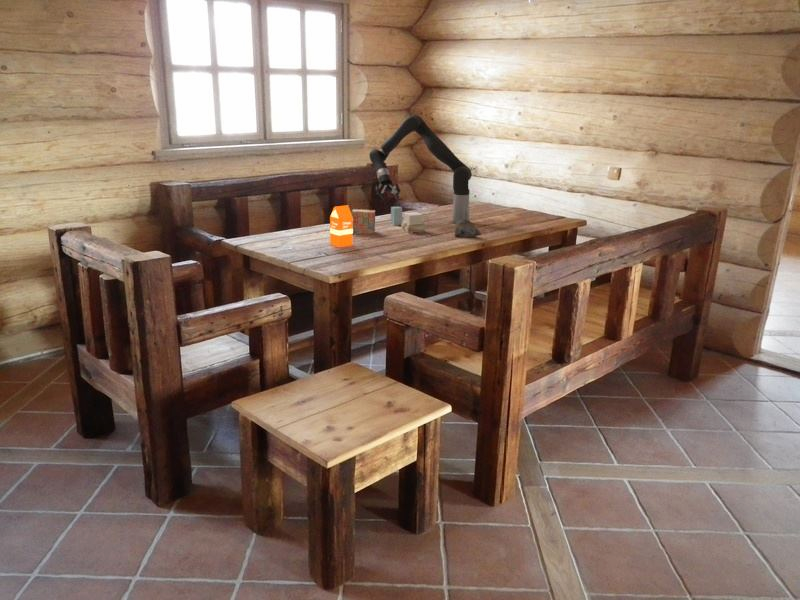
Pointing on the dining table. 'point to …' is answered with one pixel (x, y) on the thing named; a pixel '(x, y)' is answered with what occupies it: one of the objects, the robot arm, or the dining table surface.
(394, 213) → the pillar block
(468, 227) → the mineral rock
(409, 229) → the tower bottom slab
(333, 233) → the orange juice
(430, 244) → the dining table surface
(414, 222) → the tower top slab
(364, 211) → the stack of blocks
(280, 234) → the dining table surface
